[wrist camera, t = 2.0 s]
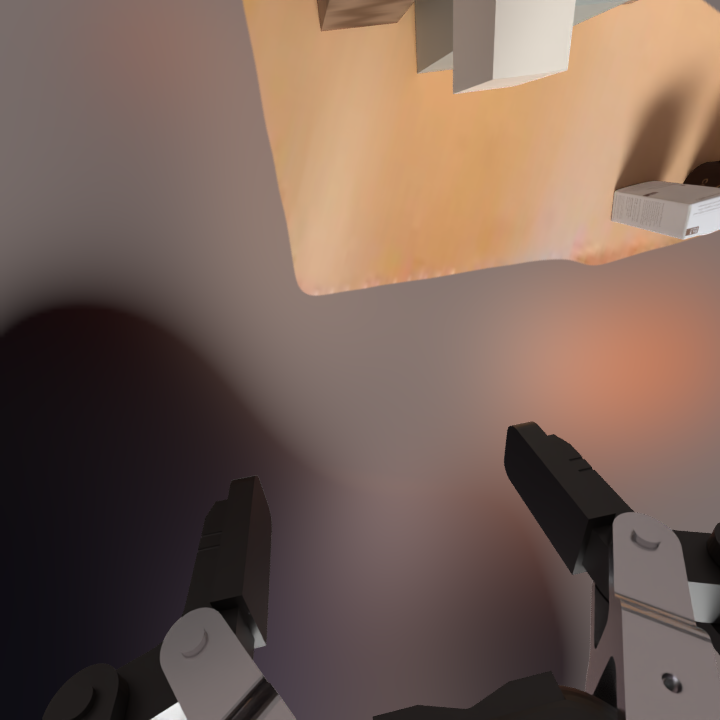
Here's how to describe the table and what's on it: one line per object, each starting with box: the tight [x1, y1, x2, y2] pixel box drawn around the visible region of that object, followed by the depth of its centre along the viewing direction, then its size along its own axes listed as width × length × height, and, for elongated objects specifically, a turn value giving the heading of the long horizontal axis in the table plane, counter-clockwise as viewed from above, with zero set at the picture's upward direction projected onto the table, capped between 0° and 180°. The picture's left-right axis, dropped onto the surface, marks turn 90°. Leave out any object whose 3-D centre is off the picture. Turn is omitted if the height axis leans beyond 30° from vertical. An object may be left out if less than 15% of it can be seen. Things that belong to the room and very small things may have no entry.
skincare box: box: [611, 181, 720, 239], centre depth 48 cm, size 6×4×12 cm
